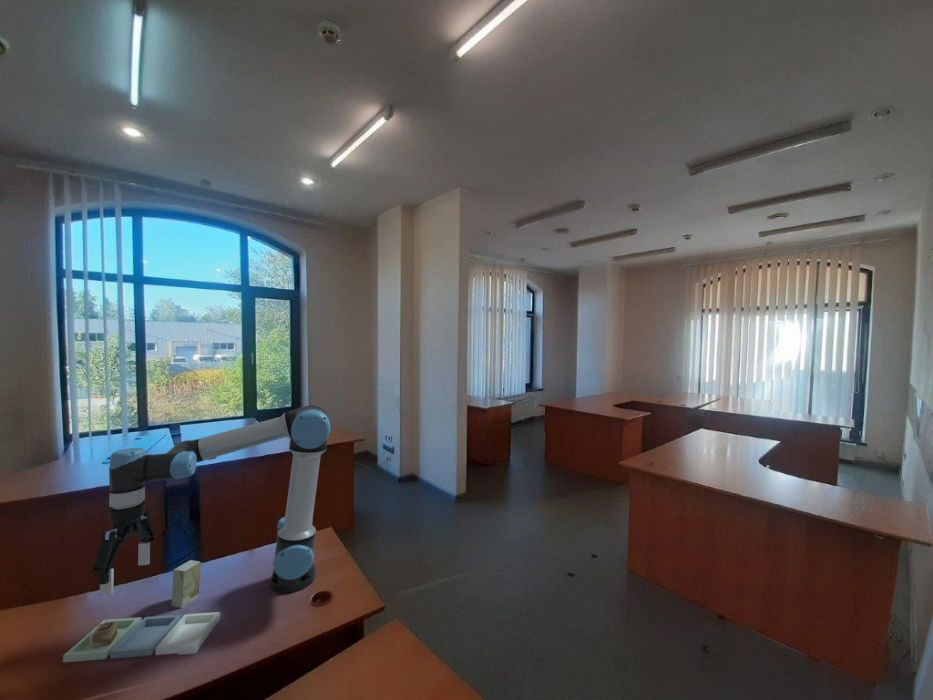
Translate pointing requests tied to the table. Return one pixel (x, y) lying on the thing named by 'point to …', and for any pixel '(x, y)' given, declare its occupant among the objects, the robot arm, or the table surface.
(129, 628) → the tray
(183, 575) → the skincare box
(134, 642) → the tray
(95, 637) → the letter cube
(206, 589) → the table surface
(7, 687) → the table surface
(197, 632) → the tray
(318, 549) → the table surface
